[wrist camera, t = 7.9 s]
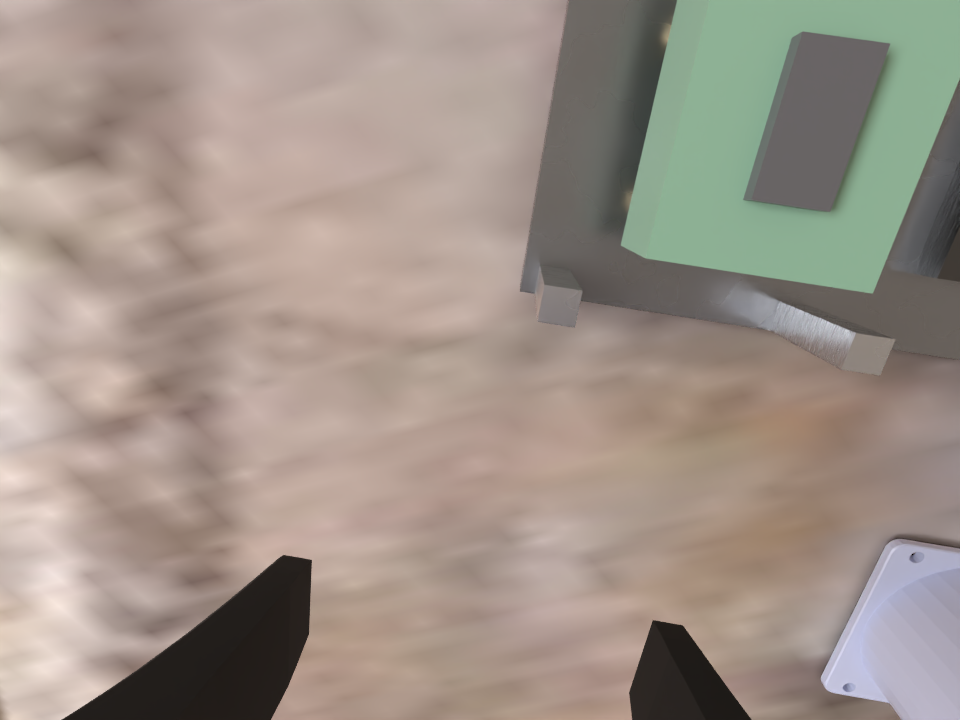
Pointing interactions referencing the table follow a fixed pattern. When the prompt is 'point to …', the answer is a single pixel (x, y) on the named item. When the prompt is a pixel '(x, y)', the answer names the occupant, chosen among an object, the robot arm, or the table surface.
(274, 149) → the table surface
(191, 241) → the table surface
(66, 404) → the table surface
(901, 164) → the green block
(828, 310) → the chassis
